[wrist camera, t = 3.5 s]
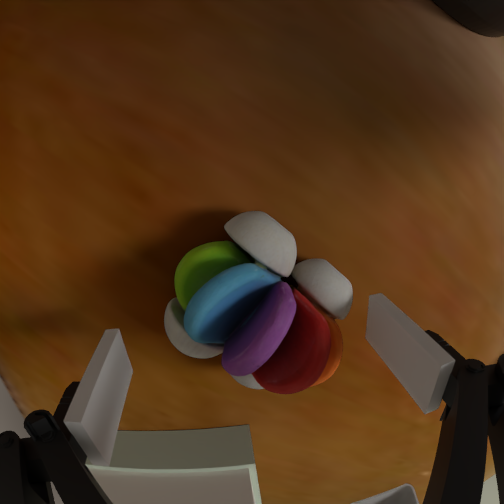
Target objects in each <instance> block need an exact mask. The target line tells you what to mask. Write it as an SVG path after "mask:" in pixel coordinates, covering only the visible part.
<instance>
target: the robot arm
mask: <svg viewBox="0 0 504 504" xmlns="http://www.w3.org/2000/svg"><path fill="white" fill-rule="evenodd" d="M433 1H434V2H435V3H436V4H437V5H438V6H440V7H441V8H442V9H443V10H444V11H445V12H447V13H448V14H449V15H450V16H452V17H453V18H454V19H456V20H457V21H458V22H460V23H461V24H463V25H464V26H466V27H468V28H469V29H471V30H473V31H475V32H477V33H479V34H482V35H484V36H488V37H501V36H504V0H433ZM365 338H366V340H367V341H368V342H369V343H370V345H371V346H372V347H373V348H374V350H375V351H376V352H377V353H378V355H379V356H380V357H381V358H382V360H383V361H384V362H385V363H386V365H387V366H388V367H389V369H390V370H391V371H392V372H393V374H394V375H395V376H396V377H397V379H398V380H399V381H400V383H401V384H402V385H403V386H404V388H405V389H406V390H407V392H408V393H409V394H410V395H411V397H412V398H413V399H414V401H415V402H416V403H417V405H418V406H419V407H420V409H421V410H422V411H423V412H424V414H427V413H429V412H431V411H434V410H436V409H438V408H439V406H440V403H441V400H442V399H443V400H444V401H445V402H446V406H445V409H444V411H443V414H442V416H441V418H440V421H442V419H443V421H442V427H441V432H440V437H439V443H438V447H437V452H436V457H435V461H434V465H433V469H432V473H431V477H430V481H429V484H428V488H427V491H426V495H425V498H424V501H423V504H480V501H481V494H482V488H483V481H484V473H485V464H486V453H487V437H488V436H489V440H490V445H491V450H492V455H493V460H494V466H495V472H496V478H497V485H498V491H499V501H500V504H504V354H502V355H501V356H499V359H498V362H497V364H493V365H486V366H485V365H484V363H483V362H481V361H479V360H476V359H467V360H466V359H465V358H464V357H463V356H461V355H460V354H459V353H458V352H457V351H456V350H455V349H454V348H453V347H452V346H450V345H449V344H448V343H447V342H446V341H444V339H443V338H442V337H440V336H439V335H438V334H436V333H434V332H432V331H430V330H427V331H423V330H422V329H421V328H420V327H419V326H418V325H417V324H416V323H415V322H414V321H412V320H411V319H410V318H409V317H408V316H407V315H406V314H405V313H404V312H402V311H401V310H400V309H399V308H398V307H397V306H396V305H395V304H393V303H392V302H391V301H390V300H389V299H388V298H387V297H385V296H384V295H383V294H382V293H379V294H374V295H369V306H368V317H367V327H366V337H365ZM132 373H133V369H132V366H131V363H130V361H129V358H128V355H127V352H126V349H125V346H124V343H123V339H122V336H121V333H120V330H119V329H106V330H105V332H104V334H103V336H102V338H101V340H100V342H99V344H98V346H97V348H96V350H95V352H94V354H93V356H92V358H91V360H90V362H89V365H88V367H87V369H86V371H85V373H84V375H83V377H82V380H81V382H72V383H71V384H70V385H69V386H68V387H67V388H66V390H65V392H64V394H63V396H62V397H63V398H61V400H60V402H59V403H60V404H58V406H57V409H56V411H55V413H54V415H53V416H52V415H51V414H50V412H49V411H46V410H36V411H33V412H32V413H30V414H29V415H28V416H27V417H26V418H25V421H24V428H25V429H26V430H27V432H28V434H29V435H30V436H31V437H30V438H22V439H20V438H19V436H18V435H17V434H16V433H15V432H13V431H5V432H3V433H1V434H0V504H55V502H54V497H53V493H52V488H51V483H50V482H51V481H52V482H53V484H54V486H55V488H56V490H57V492H58V494H59V495H60V497H61V499H62V501H63V503H64V504H113V503H112V502H111V500H110V499H109V498H108V496H107V495H106V494H105V492H104V491H103V489H102V488H101V487H100V485H99V484H98V482H97V481H96V479H95V478H94V476H93V475H92V473H91V472H90V470H89V469H88V467H87V466H86V465H85V463H86V459H87V458H88V459H89V460H90V462H91V463H92V464H93V465H99V466H109V465H110V461H111V456H112V452H113V447H114V443H115V438H116V434H117V430H118V426H119V422H120V418H121V414H122V410H123V406H124V402H125V398H126V395H127V391H128V387H129V384H130V380H131V377H132Z"/></svg>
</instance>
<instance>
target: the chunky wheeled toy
mask: <svg viewBox="0 0 504 504" xmlns="http://www.w3.org/2000/svg"><path fill="white" fill-rule="evenodd" d="M224 229H225V230H226V232H227V233H228V235H229V236H230V237H231V238H232V239H233V240H234V241H235V242H236V243H237V244H238V245H237V244H235V243H233V242H230V241H216V242H210V243H206V244H203V245H200V246H198V247H196V248H194V249H192V250H191V251H189V252H188V253H187V254H186V255H185V256H184V257H183V258H182V260H181V261H180V263H179V264H178V266H177V269H176V272H175V277H174V282H175V291H176V295H177V298H173V299H172V300H171V301H170V302H169V303H168V305H167V308H166V310H165V315H164V325H165V330H166V333H167V336H168V338H169V340H170V341H171V343H172V344H173V345H174V346H175V347H176V348H177V349H178V350H179V351H180V352H182V353H183V354H185V355H188V356H190V357H194V358H211V357H214V356H217V355H219V354H221V353H223V355H222V366H223V368H224V369H225V370H226V371H227V372H228V373H229V374H231V376H232V377H233V378H234V379H235V380H236V381H237V382H239V383H240V384H242V385H244V386H246V387H249V388H254V389H266V390H268V391H271V392H274V393H279V394H292V393H296V392H299V391H302V390H304V389H306V388H308V387H311V386H314V385H317V384H320V383H322V382H324V381H325V380H327V379H328V378H330V377H331V376H332V374H333V373H334V372H335V370H336V369H337V367H338V365H339V363H340V360H341V357H342V352H343V340H342V335H341V332H340V329H339V327H338V325H337V323H336V322H335V321H334V319H341V320H343V319H344V318H345V317H346V316H347V314H348V312H349V310H350V308H351V304H352V300H353V291H352V285H351V283H350V282H349V280H348V279H347V278H345V277H344V276H343V275H342V274H341V273H340V272H339V271H338V270H336V269H335V268H334V267H333V266H332V265H331V264H330V263H329V262H327V261H326V260H324V259H308V260H305V261H302V262H300V263H298V264H296V265H295V262H296V255H297V249H296V242H295V239H294V237H293V235H292V234H291V233H290V232H289V231H288V230H287V229H285V228H284V227H283V226H282V225H281V224H279V223H278V222H277V221H276V220H274V219H273V218H272V217H270V216H269V215H268V214H266V213H264V212H261V211H249V212H244V213H241V214H239V215H237V216H235V217H233V218H232V219H231V220H229V221H228V222H227V223H226V224H225V226H224ZM294 265H295V266H294ZM290 274H291V275H292V277H293V278H294V279H295V281H296V282H297V284H298V286H297V288H296V287H295V286H293V285H291V284H290V285H288V284H287V283H286V282H283V281H282V280H280V278H281V277H289V275H290Z"/></svg>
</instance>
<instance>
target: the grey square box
mask: <svg viewBox="0 0 504 504" xmlns="http://www.w3.org/2000/svg"><path fill="white" fill-rule="evenodd" d="M85 465H86V466H87V467H88V469H89V470H90V472H91V473H92V475H93V476H94V478H95V479H96V481H97V482H98V484H99V485H100V487H101V488H102V489H103V491H104V492H105V494H106V495H107V496H108V498H109V499H110V500H111V502H112V503H113V504H262V503H261V497H260V491H259V485H258V478H257V472H256V466H255V460H254V453H253V447H252V441H251V434H250V428H249V425H241V426H232V427H222V428H211V429H197V430H177V431H117V434H116V438H115V443H114V447H113V452H112V456H111V461H110V465H109V466H99V465H93V464H92V463H91V462H90V460H89V459H88V458H87V459H86V463H85Z"/></svg>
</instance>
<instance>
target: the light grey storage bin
mask: <svg viewBox="0 0 504 504" xmlns="http://www.w3.org/2000/svg"><path fill="white" fill-rule="evenodd" d="M351 504H419V502H418V499H417V496H416V493H415V490H414V488H413V486H412V485H410V484H404V485H401V486H399V487H397V488H394V489H391V490H389V491H386V492H384V493H381V494H378V495H375V496H373V497H370V498H367V499H364V500H361V501H358V502H354V503H351Z"/></svg>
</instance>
